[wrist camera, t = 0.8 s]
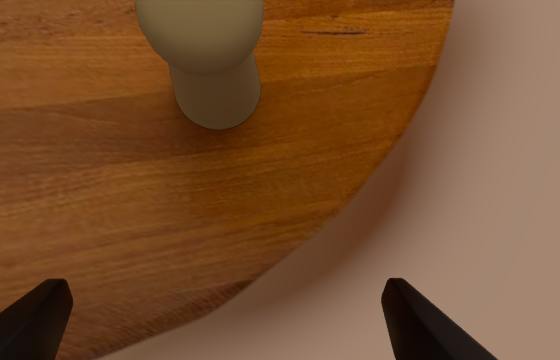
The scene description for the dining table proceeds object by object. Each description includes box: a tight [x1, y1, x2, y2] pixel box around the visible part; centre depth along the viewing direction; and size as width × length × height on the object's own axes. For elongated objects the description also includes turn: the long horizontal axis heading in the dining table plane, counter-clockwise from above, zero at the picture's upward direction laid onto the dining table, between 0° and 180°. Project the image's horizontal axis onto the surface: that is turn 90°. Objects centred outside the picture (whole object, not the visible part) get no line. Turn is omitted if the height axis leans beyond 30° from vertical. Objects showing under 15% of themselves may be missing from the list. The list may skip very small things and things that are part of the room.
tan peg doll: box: [135, 0, 264, 130], centre depth 17 cm, size 6×6×11 cm
